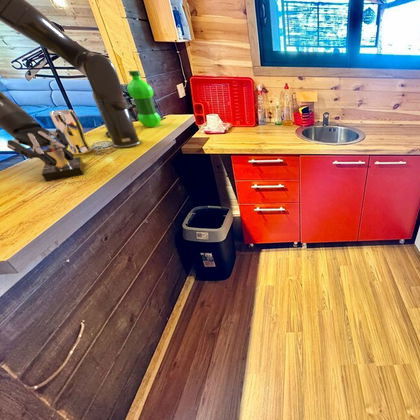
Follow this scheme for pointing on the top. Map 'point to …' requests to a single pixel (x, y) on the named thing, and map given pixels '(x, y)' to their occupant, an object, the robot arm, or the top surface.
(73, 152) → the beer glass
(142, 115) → the plastic bottle
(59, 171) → the black flat block
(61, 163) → the dial
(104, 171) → the top surface
